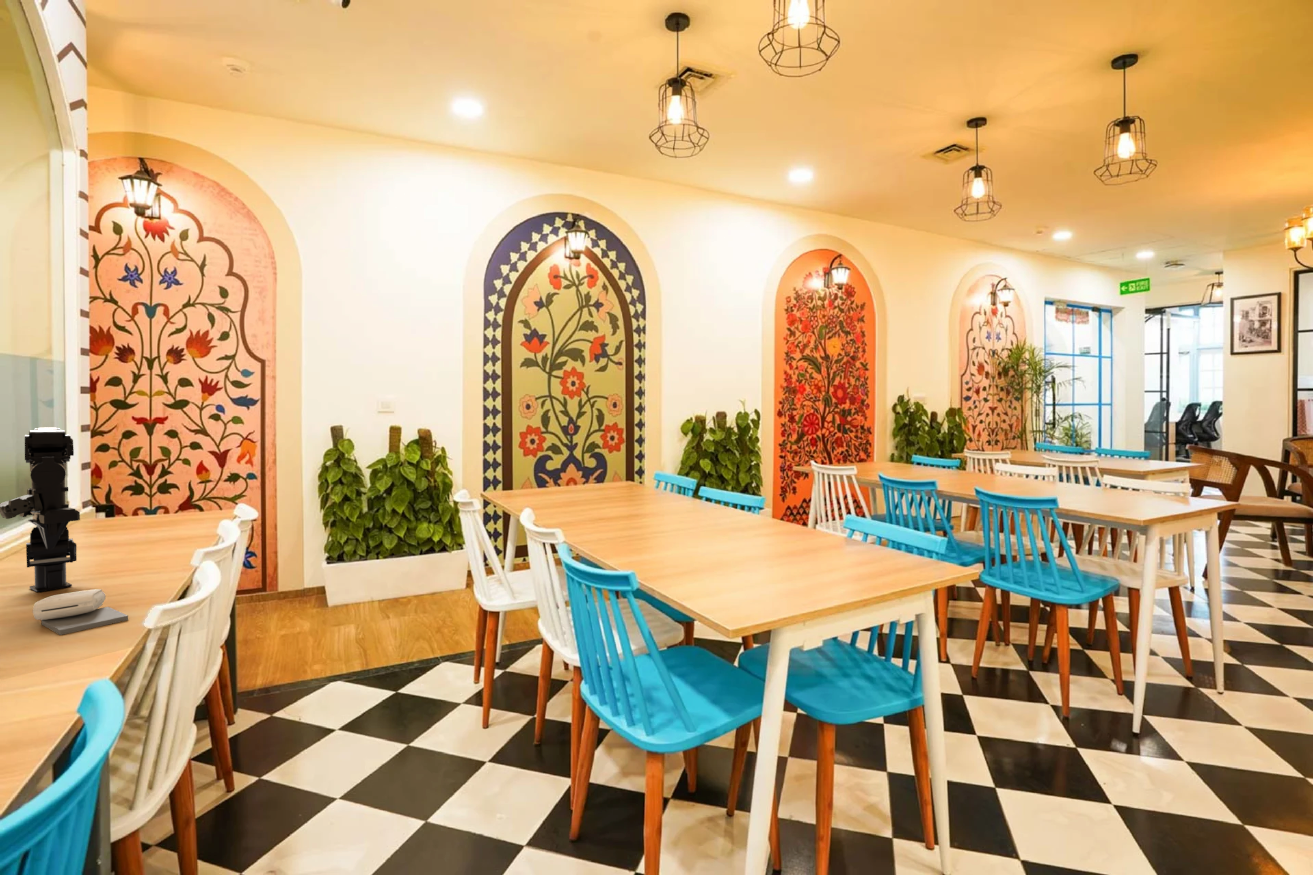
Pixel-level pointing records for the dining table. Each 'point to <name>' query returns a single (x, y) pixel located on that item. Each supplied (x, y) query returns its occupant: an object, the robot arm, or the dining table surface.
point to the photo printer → (68, 604)
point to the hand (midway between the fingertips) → (50, 548)
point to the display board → (84, 620)
